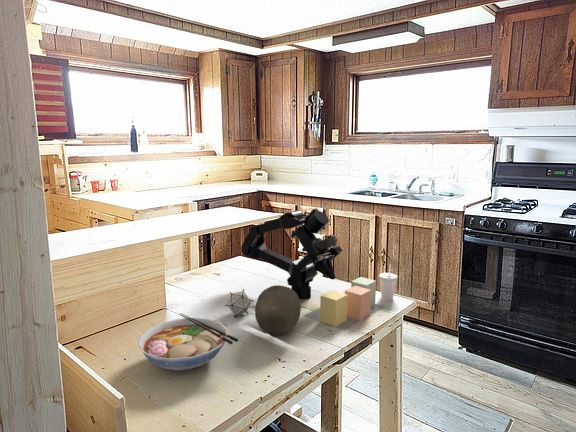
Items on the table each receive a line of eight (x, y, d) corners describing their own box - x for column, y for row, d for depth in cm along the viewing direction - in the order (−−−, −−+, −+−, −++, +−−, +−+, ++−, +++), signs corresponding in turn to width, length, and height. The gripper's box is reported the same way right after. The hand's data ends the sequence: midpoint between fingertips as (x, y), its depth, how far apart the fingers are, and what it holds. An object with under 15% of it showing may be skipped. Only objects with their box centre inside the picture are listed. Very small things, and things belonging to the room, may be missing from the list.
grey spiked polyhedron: (234, 325, 140) (214, 303, 139) (246, 308, 147) (228, 287, 145) (250, 320, 135) (230, 296, 133) (263, 302, 141) (244, 280, 139)
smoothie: (391, 306, 146) (393, 267, 144) (374, 302, 150) (376, 264, 148) (399, 300, 151) (401, 263, 149) (382, 296, 155) (384, 260, 153)
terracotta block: (344, 315, 136) (344, 290, 135) (354, 309, 141) (355, 285, 139) (360, 320, 132) (360, 295, 131) (370, 314, 137) (371, 289, 135)
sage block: (350, 304, 145) (351, 281, 143) (360, 299, 149) (361, 276, 148) (365, 309, 141) (366, 285, 139) (375, 304, 145) (376, 280, 144)
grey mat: (303, 319, 137) (303, 315, 136) (345, 297, 154) (345, 294, 154) (344, 334, 126) (344, 330, 126) (384, 309, 144) (384, 306, 143)
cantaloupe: (245, 333, 127) (243, 286, 124) (281, 320, 136) (281, 275, 133) (274, 351, 116) (273, 300, 113) (311, 336, 125) (311, 288, 122)
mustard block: (320, 320, 132) (320, 295, 131) (331, 314, 137) (331, 290, 135) (335, 326, 128) (336, 300, 127) (346, 320, 133) (347, 294, 131)
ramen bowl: (122, 360, 112) (120, 331, 111) (196, 332, 128) (195, 307, 126) (170, 401, 95) (168, 368, 93) (249, 363, 110) (248, 334, 109)
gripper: (304, 232, 134) (331, 273, 129) (338, 223, 148) (364, 259, 143) (286, 251, 141) (311, 291, 136) (320, 241, 155) (344, 276, 150)
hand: (334, 278), depth 141 cm, fingers closed
